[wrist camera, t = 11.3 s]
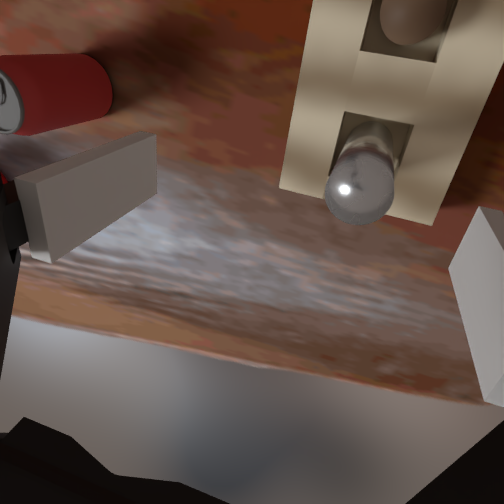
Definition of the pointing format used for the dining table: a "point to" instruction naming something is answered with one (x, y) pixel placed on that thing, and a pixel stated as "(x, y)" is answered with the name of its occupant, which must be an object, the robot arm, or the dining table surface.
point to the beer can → (51, 92)
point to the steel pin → (363, 176)
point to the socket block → (394, 91)
